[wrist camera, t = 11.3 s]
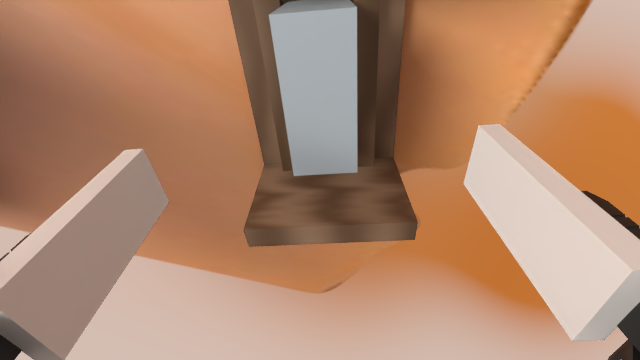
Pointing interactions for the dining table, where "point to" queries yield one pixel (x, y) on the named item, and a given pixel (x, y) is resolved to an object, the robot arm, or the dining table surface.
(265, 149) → the track base
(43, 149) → the dining table surface
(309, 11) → the plain grey rectangular block
